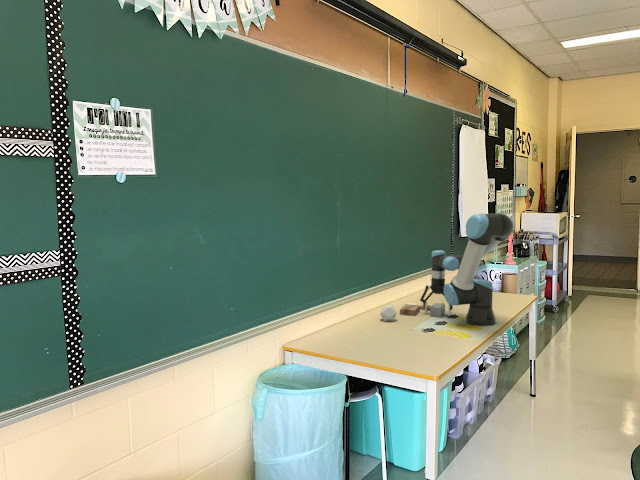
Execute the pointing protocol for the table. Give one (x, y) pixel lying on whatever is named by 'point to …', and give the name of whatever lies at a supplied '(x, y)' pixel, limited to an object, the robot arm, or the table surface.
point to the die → (388, 313)
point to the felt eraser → (424, 308)
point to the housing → (437, 310)
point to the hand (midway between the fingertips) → (437, 314)
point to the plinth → (410, 310)
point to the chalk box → (411, 304)
